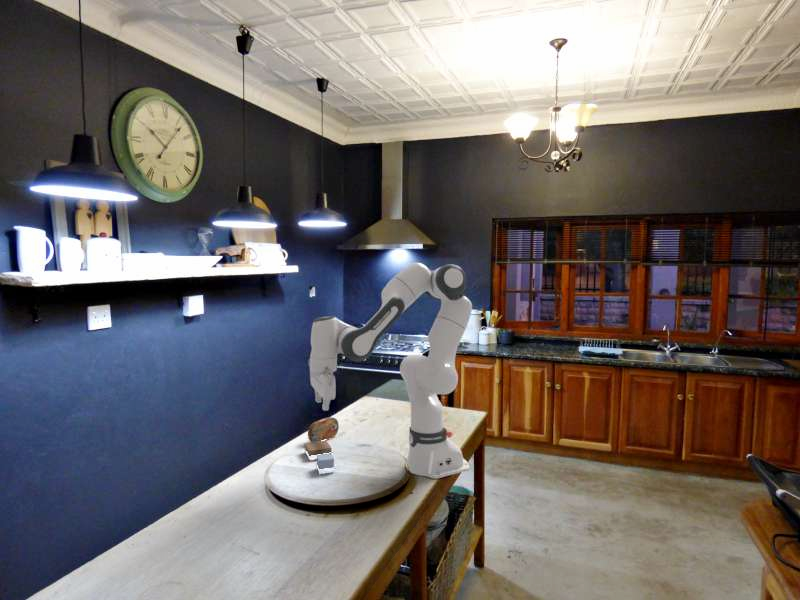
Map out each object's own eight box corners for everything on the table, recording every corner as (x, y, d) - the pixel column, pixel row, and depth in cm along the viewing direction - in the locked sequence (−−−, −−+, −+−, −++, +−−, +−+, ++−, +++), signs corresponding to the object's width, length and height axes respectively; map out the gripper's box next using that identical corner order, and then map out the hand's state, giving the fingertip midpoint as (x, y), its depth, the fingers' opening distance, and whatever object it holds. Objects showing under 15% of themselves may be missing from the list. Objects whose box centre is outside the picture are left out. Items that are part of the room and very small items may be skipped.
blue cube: (330, 467, 169) (330, 453, 169) (333, 473, 164) (333, 458, 164) (316, 469, 167) (316, 455, 167) (319, 475, 163) (319, 460, 162)
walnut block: (325, 450, 184) (325, 440, 184) (331, 458, 177) (331, 447, 177) (304, 453, 181) (304, 442, 181) (309, 461, 174) (309, 450, 174)
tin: (311, 446, 187) (311, 425, 187) (306, 444, 189) (306, 423, 189) (339, 435, 199) (339, 415, 199) (333, 434, 201) (333, 414, 201)
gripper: (341, 371, 152) (339, 414, 153) (325, 358, 171) (323, 397, 171) (321, 372, 149) (320, 416, 150) (307, 359, 168) (305, 398, 169)
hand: (321, 405), depth 161 cm, fingers open, 8 cm apart
